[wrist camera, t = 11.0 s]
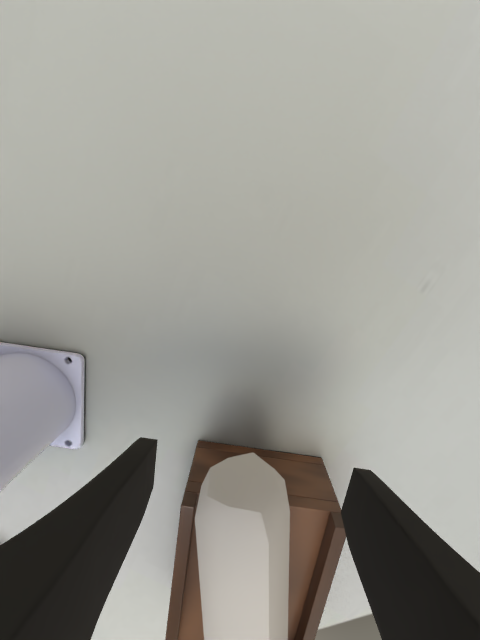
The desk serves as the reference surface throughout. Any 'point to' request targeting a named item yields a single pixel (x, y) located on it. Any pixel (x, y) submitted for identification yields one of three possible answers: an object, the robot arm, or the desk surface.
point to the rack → (304, 544)
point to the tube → (243, 550)
